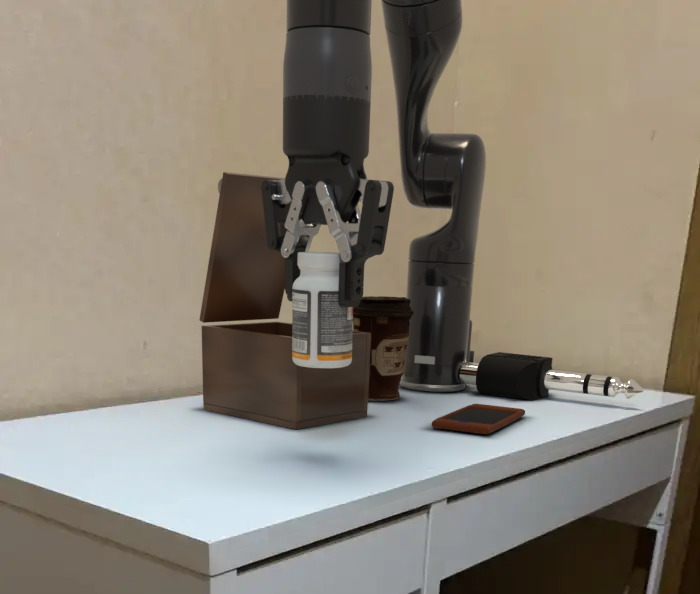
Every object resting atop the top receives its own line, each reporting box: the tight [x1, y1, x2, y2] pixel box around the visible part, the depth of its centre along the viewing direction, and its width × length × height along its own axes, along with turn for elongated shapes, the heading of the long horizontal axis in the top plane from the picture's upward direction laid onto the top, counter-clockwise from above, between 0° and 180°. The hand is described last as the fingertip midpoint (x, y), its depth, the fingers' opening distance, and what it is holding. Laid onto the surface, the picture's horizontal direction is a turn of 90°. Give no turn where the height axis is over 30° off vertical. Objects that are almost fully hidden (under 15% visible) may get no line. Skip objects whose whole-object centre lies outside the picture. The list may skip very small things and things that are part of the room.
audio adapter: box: [459, 351, 644, 401], centre depth 131 cm, size 11×5×25 cm
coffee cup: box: [353, 295, 414, 401], centre depth 124 cm, size 9×8×13 cm
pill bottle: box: [291, 251, 353, 368], centre depth 87 cm, size 6×6×10 cm
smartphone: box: [430, 403, 526, 435], centre depth 112 cm, size 7×1×15 cm
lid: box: [198, 171, 292, 324], centre depth 111 cm, size 16×13×5 cm
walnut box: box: [201, 320, 371, 430], centre depth 112 cm, size 16×13×10 cm
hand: (322, 303), depth 86 cm, fingers closed on pill bottle, 5 cm apart
